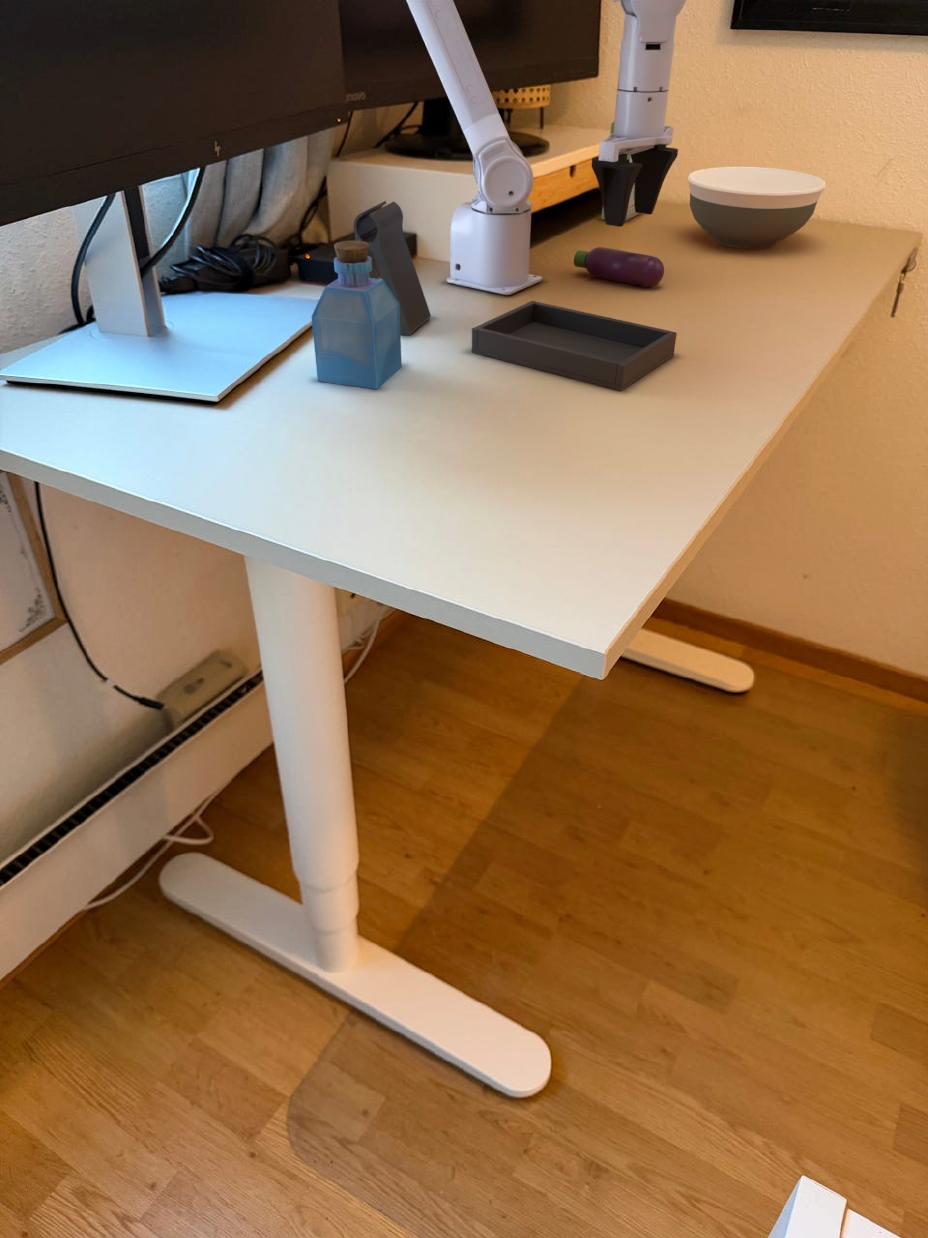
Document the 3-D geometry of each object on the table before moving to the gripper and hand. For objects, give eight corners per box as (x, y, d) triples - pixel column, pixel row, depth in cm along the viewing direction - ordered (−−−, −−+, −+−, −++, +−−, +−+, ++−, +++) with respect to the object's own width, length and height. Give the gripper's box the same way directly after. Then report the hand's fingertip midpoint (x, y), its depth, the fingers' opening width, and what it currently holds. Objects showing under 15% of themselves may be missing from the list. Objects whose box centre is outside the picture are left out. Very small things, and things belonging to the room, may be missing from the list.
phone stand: (431, 319, 101) (429, 204, 94) (410, 335, 96) (406, 216, 89) (359, 310, 103) (351, 197, 96) (335, 326, 99) (325, 209, 92)
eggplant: (569, 275, 115) (571, 246, 113) (583, 269, 117) (585, 240, 115) (654, 292, 109) (657, 261, 107) (667, 285, 111) (671, 255, 109)
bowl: (830, 258, 121) (845, 192, 116) (692, 257, 122) (702, 191, 117) (791, 225, 136) (803, 166, 132) (669, 224, 137) (676, 165, 132)
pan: (471, 352, 92) (471, 328, 91) (530, 323, 100) (531, 300, 98) (621, 391, 84) (623, 365, 83) (673, 356, 92) (677, 332, 90)
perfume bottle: (401, 366, 89) (396, 239, 82) (376, 389, 84) (369, 256, 77) (345, 358, 91) (335, 233, 84) (317, 380, 86) (304, 250, 79)
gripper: (645, 98, 94) (631, 235, 102) (702, 85, 103) (685, 212, 111) (586, 93, 97) (577, 226, 105) (647, 81, 106) (634, 204, 114)
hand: (629, 218), depth 108 cm, fingers open, 7 cm apart
